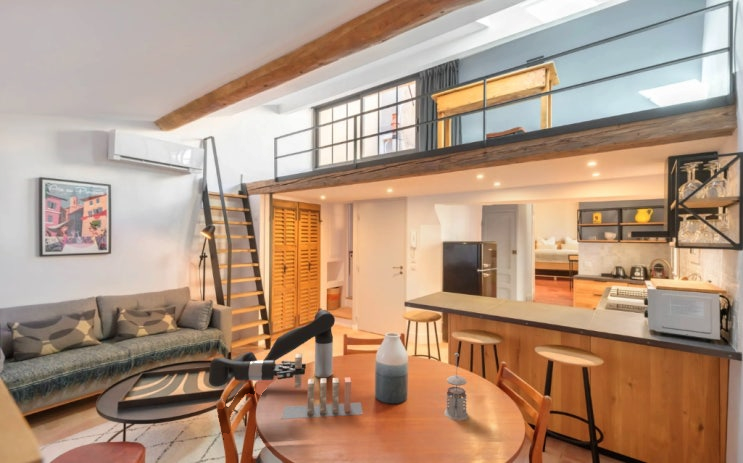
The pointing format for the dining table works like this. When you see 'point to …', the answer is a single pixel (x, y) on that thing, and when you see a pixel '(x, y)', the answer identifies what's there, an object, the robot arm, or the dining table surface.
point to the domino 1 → (297, 366)
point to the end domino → (347, 394)
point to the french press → (456, 398)
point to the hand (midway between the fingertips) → (305, 368)
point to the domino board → (302, 411)
